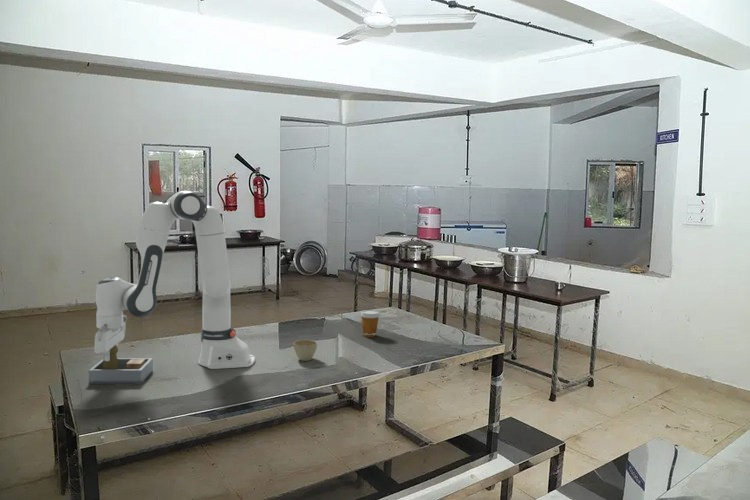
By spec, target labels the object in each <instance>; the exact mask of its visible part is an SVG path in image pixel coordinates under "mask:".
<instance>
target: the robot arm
mask: <svg viewBox="0 0 750 500" xmlns="http://www.w3.org/2000/svg"><path fill="white" fill-rule="evenodd" d="M176 220H181V221H182V220H183V221H187V220H189V221H191V222H192V224H193V226H194V229H195V230H194V232H195V238H196V246H197V254H198V262H199V263H198V264H199V270H200V272H199V273H200V279H201V286H202V287H201V288H202V306H201V309H202V310H201V312H202V318H201V319H202V328H201V330H200V342H201V347H200V348H201V349H200V354H199V358H198V361H197V362H198V364H199V365H200V366H202V367H206V368H208V369H210V370H221V369H234V368H248V367H251V366H253V365H254V363H255V361H256V358H255V355H254V354H250V353H251V352H250V349H249V346H248V344H247V343H246V342H244V341H242V340H241V339H240V338H238V337H237V336H236V335H237V334H236V333H237V331H236V328H234V327H232V326H231V321H232V320H231V317H232V316H231V315H232V314H231V309H232V308H231V287H232V278H231V272H230V266H229V265H230V264H229V255H228V250H227V242H226V236H225V235H226V233H225V228H224V223H223V218H222V215H221V213H220V210H219V209H218V208H217V207H215V206H212V205H207V204H206V203H205V201H203V199H202V198H201V197H200V195H199V194H197V193H196V192H194V191H191V190H181V191H177V192H175V193H172V194H171V195H170V196H168V198H167V199H166V200H165V201H163V202H160V201H154V202H150V203H149V204H148V205H147V206H146V208H145V210H144V211H143V214H142V216H141V219H140V222H139V224H138V228H137V232H136V236H135V237H136V238H135V246H136V248H137V250H138V252H139V254H140V258H141V266H140V272H139V277H138V280H137V283H131V282H128V281H126V280H124V279H122V278H121V277H119V276H118V277H117V276H110V277H106V278H103V279H101V280H99V281H98V283H97V284H96V288H95V289H96V291H95V304H96V314H95V316H96V317H95V318H96V319H95V321H96V325H95V326H96V328H97V329H98V331H97V332H95V336H94V352H95V354H99V355H100V354H102V355H103V359H104V360H105V361H109V360H111V355H110V353H109V352H110V349H111V348H113V347H114V346H117V348H118V347H119V346H118V345H119V343H120V342H122V341H123V340H125V339H124V338H125V337H126V336H125V335H126V322H127V315H125V314H124V311H127V310H128V311H129V313H130V314H131V315H132V316H135V317H137V318H143V317H144V318H145V317H147V316H149V315H151V314H153V312H154V311H155V310H156V308H157V306H158V298H157V286H158V285H157V284H158V282H159V281H158V279H159V275H160V272H161V266H162V262H163V261H162V260H163V258H164V257H163V256H164V252H165V249H166V247H167V243H168V239H169V235H170V233H171V228H172V226H173V224H174V222H175V221H176ZM117 354H118V352H117V353H116V355H117Z"/></svg>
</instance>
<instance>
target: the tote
mask: <svg viewBox="0 0 750 500" xmlns="http://www.w3.org/2000/svg"><path fill="white" fill-rule="evenodd" d="M103 359H104V358H102V359H101V360H100V361H98V363H96V364H95V365H93V366H92V367H91V368H89V370H88V384H90V385H96V384H97V385H107V384H109V385H111V384H112V385H118V384H119V385H122V384H123V385H125V384H127V385H129V384H131V385H134V384H135V385H137V384H138V385H140V384H141V385H142V384H143V383H144V382H145V380H146V379H147V378H148V377H149V376H150V375H151V374H152V372H153V371H154V359H153V358H152V357H145V358H144V357H142V358H141V357H140V358H139V357H137V358H135V357H134V358H133V357H128V358H127V357H120V358H119V357H117V362H118V368H119V369H102V367H103ZM131 359H145V364H144V365H143V366H142V367H141V368H140V369H127V365H126V364H127V363H128V362H129V361H130V360H131Z"/></svg>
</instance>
